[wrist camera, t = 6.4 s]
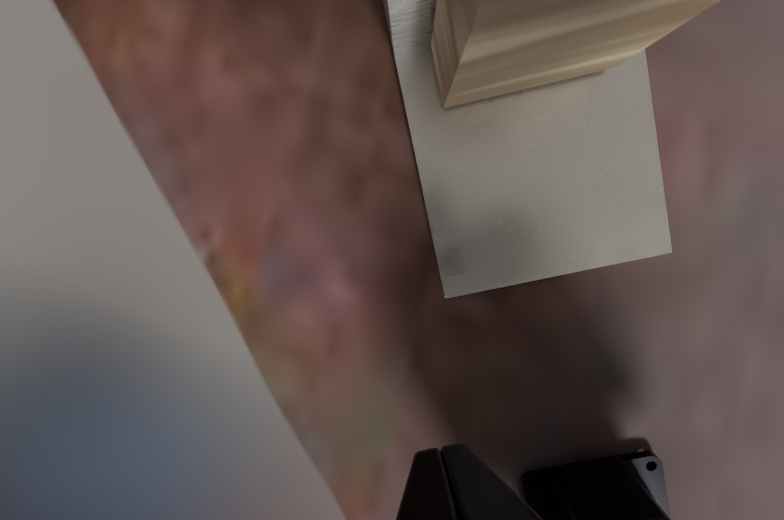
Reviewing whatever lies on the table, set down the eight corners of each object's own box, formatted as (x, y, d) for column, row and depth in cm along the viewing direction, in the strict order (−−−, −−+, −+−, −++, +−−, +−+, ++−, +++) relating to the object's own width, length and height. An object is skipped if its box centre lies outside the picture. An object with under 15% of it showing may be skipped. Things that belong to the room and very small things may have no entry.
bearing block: (665, 251, 19) (913, 302, 10) (444, 296, 20) (474, 385, 10) (616, -109, 17) (866, -482, 8) (373, -44, 18) (331, -312, 8)
